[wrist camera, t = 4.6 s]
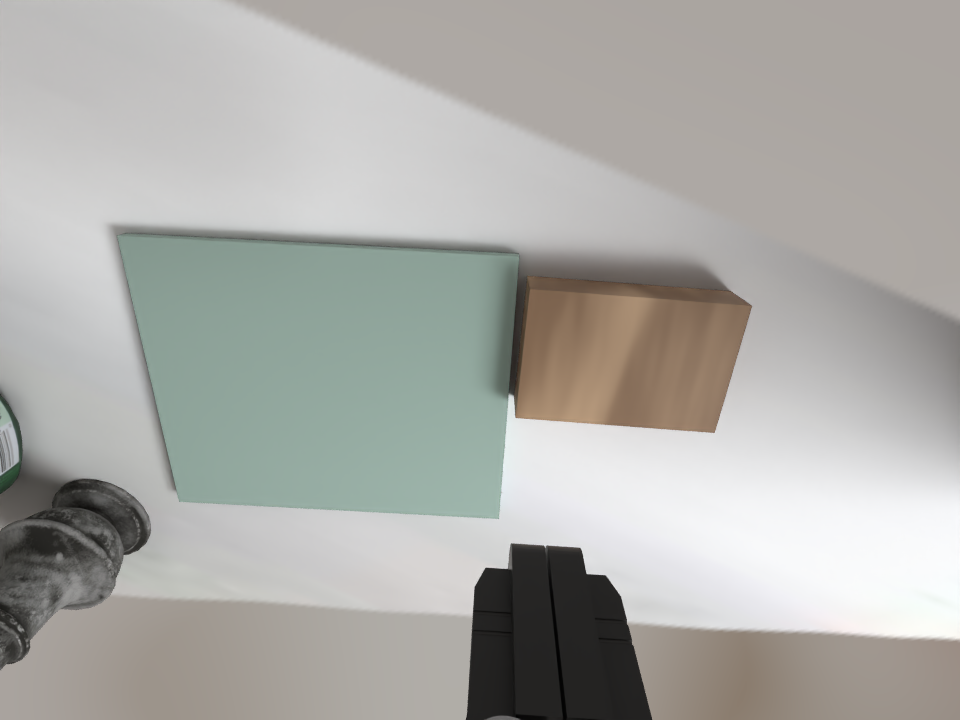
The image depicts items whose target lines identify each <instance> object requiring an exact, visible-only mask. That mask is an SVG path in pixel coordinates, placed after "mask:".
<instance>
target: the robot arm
mask: <svg viewBox="0 0 960 720" xmlns="http://www.w3.org/2000/svg"><path fill="white" fill-rule="evenodd" d="M466 720H652V717H651V713H650V709H649V705H648V701H647V697H646V693H645V690H644V686H643V682H642V678H641V674H640V670H639V666H638V662H637V658H636V654H635V650H634V646H633V645H632V639H631V635H630V631H629V627H628V625H627V619H626V615H625V611H624V607H623V603H622V599H621V596H620V595H619V593H618V592H617V591H616V589H615V588H614V586H613V585H612V584H611V582H610V581H609V579H608V578H607V577H606V575H591V574H586V570H585V564H584V559H583V554H582V550H581V548H575V547H560V546H546V548H545V547H544V546H542V545H527V544H512V543H511V545H510V552H509V563H508V569H497V568H485V570H484V572H483V573H482V575H481V577H480V579H479V580H478V582H477V584H476V586H475V590H474V606H473V623H472V639H471V656H470V674H469V690H468V707H467V717H466Z"/></svg>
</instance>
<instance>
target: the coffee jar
mask: <svg viewBox="0 0 960 720" xmlns="http://www.w3.org/2000/svg"><path fill="white" fill-rule="evenodd" d="M22 452H23V450H22V437H21V431H20V427H19V423H18V421H17V419H16V418H15V416H14V414H13V412H12V410H11V408H10V407H9V405H8V404H7V402H6V401H5V399H4V398H3V397H2V396H1V395H0V494H1V493H2V492H4V491H5V490H6V489H8V488H9V487H10V486H11V485H12V484H13V483H14V481H15V480H16V479H17V477H18V475H19V471H20V467H21V461H22Z"/></svg>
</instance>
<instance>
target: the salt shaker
mask: <svg viewBox="0 0 960 720" xmlns="http://www.w3.org/2000/svg"><path fill="white" fill-rule="evenodd" d="M150 531H151V524H150V520H149V516H148V514H147V513H146V511H145V509H144V508H143V506H142V505H141V504H140V503H139V502H138V501H137V500H136V499H135V498H134V497H133V496H132V495H130V494H129V493H127V492H126V491H125V490H123V489H121V488H119V487H117V486H115V485H113V484H110V483H106V482H103V481H99V480H86V479H84V480H78V481H73V482H71V483H69V484H67V485H65V486H63V487H62V488H61V489H60V490H59V491H58V492H57V493H56V494H55V497H54V500H53V502H52V509H48V510H45V511H43V512H40V513H37V514H34V515H32V516H30V517H28V518H26V519H24V520H21V521H16V522H14V523H12V524H9V525H7V526H5V527H4V528H3V529H2V530H1V531H0V670H1V669H2V668H3V667H4V666H5V665H6V664H12V663H15V662H18V661H20V660H22V659H23V658H24V657H25V656H26V655H27V654H28V652H29V649H30V640H31V639H32V637H33V636H34V635H35V634H36V633H37V632H38V631H39V630H40V629H41V628H42V626H43V625H44V624H45V623H46V622H47V621H48V620H49V619H50V618H51V617H52V616H53V615H54V614H55V613H56V612H57V611H58V610H60V609H69V610H79V609H85V608H91V607H93V606H95V605H98V604H100V603H102V602H103V601H104V600H105V599H107V598H108V597H109V596H110V595H111V593H112V591H113V589H114V587H115V581H116V577H117V575H118V573H119V571H120V568H121V564H122V561H123V555H127V554H131V553H133V552H135V551H138V550H139V549H140V548H141V547H142V546H143V545H145V544H146V542H147V540H148V538H149V536H150Z"/></svg>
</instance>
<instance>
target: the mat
mask: <svg viewBox="0 0 960 720" xmlns="http://www.w3.org/2000/svg"><path fill="white" fill-rule="evenodd" d="M117 238H118V242H119V247H120V251H121V255H122V260H123V264H124V268H125V272H126V277H127V281H128V285H129V289H130V294H131V298H132V302H133V307H134V311H135V315H136V319H137V324H138V328H139V332H140V336H141V341H142V345H143V349H144V354H145V358H146V362H147V366H148V371H149V375H150V379H151V383H152V388H153V392H154V396H155V401H156V405H157V409H158V413H159V418H160V422H161V426H162V430H163V435H164V439H165V443H166V448H167V452H168V456H169V460H170V465H171V469H172V473H173V477H174V482H175V486H176V490H177V495H178V499H179V502H194V503H213V504H232V505H250V506H269V507H287V508H306V509H325V510H343V511H362V512H380V513H399V514H418V515H436V516H455V517H473V518H492V519H499V510H500V497H501V485H502V472H503V459H504V446H505V433H506V420H507V408H508V395H509V382H510V369H511V356H512V344H513V331H514V318H515V305H516V292H517V280H518V267H519V254H516V253H497V252H478V251H459V250H439V249H420V248H401V247H382V246H363V245H344V244H324V243H305V242H286V241H267V240H248V239H228V238H209V237H190V236H171V235H152V234H133V233H125V234H121V235H118V236H117Z"/></svg>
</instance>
